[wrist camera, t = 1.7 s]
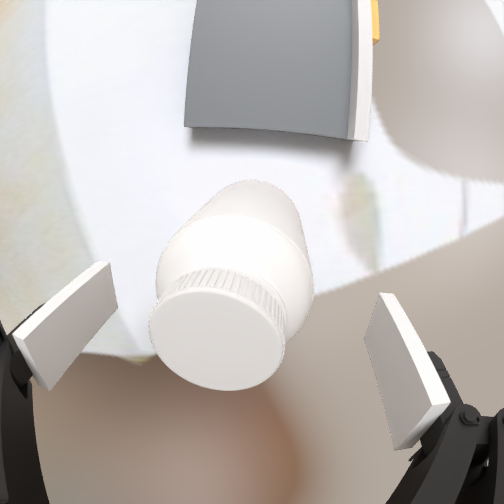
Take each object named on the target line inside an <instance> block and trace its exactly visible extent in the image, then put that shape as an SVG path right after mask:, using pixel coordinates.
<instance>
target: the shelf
mask: <svg viewBox="0 0 504 504" xmlns="http://www.w3.org/2000/svg"><path fill="white" fill-rule="evenodd" d="M377 41H379V16H378V2H377V0H197V4H196V10H195V17H194V24H193V31H192V39H191V48H190V57H189V66H188V77H187V88H186V101H185V116H184V127H190V128H238V129H256V130H270V131H282V132H292V133H301V134H309V135H317V136H324V137H331V138H338V139H344V140H350V141H366V142H368V137H369V126H370V113H371V96H372V65H373V64H372V63H373V62H372V61H373V57H372V56H373V54H372V53H373V52H372V51H373V45H374V44H375V43H377Z"/></svg>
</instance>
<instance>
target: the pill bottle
mask: <svg viewBox="0 0 504 504" xmlns="http://www.w3.org/2000/svg"><path fill="white" fill-rule="evenodd" d="M156 293H157V298H158V301H157V303H156V304H155V306H154V308H153V310H152V312H151V315H150V320H149V334H150V338H151V342H152V345H153V347H154V349H155V351H156V353H157V354H158V356H159V357H160V358H161V360H162V361H163V362H164V363H165V364H166V365H167V366H168V367H169V368H170V369H171V370H172V371H173V372H175V373H176V374H177V375H179V376H180V377H182V378H184V379H185V380H187V381H189V382H191V383H194V384H196V385H199V386H202V387H206V388H209V389H214V390H223V391H234V390H242V389H247V388H251V387H254V386H256V385H258V384H260V383H262V382H264V381H265V380H267V379H268V378H269V377H270V376H272V375H273V374H274V373H275V371H276V370H277V369H278V367H279V366H280V365H281V362H282V361H283V357H284V352H285V344H286V343H287V342H289V341H290V340H291V339H292V338H293V337H294V336H295V335H296V334H297V333H298V332H299V330H300V329H301V327H302V326H303V324H304V323H305V321H306V319H307V317H308V314H309V312H310V309H311V306H312V302H313V295H314V283H313V275H312V270H311V265H310V260H309V256H308V251H307V247H306V242H305V238H304V233H303V229H302V225H301V221H300V217H299V213H298V211H297V208H296V206H295V205H294V203H293V202H292V200H291V199H290V198H289V197H288V195H287V194H286V193H284V192H283V191H282V190H281V189H279V188H278V187H276V186H274V185H272V184H270V183H267V182H264V181H259V180H244V181H239V182H236V183H233V184H230V185H228V186H227V187H225V188H223V189H222V190H221V191H219V192H218V193H217V194H216V195H215V196H214V197H213V198H212V199H211V200H210V201H208V202H207V203H206V204H205V205H204V206H203V207H202V208H201V209H200V210H199V211H198V212H197V213H196V214H195V215H194V216H193V217H192V218H191V219H190V220H189V221H188V222H187V223H186V224H185V225H184V226H183V227H182V228H181V229H179V230H178V231H177V233H176V234H175V235H174V236H173V237H172V238H171V239H170V241H169V242H168V243H167V245H166V246H165V248H164V250H163V252H162V254H161V256H160V259H159V263H158V267H157V272H156Z"/></svg>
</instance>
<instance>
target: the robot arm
mask: <svg viewBox="0 0 504 504" xmlns="http://www.w3.org/2000/svg"><path fill="white" fill-rule="evenodd" d="M117 308H118V305H117V300H116V295H115V290H114V285H113V279H112V273H111V266H110V262H104V261H97V262H96V263H95V264H93V265H92V266H91V267H89V268H88V269H87V270H86V271H84V272H83V273H82V274H81V275H79V276H78V277H77V278H75V279H74V280H73V281H72V282H71V283H69V284H68V285H67V286H66V287H64V288H63V289H62V290H61V291H60V292H58V293H57V294H56V295H55V296H54V297H52V298H51V299H50V300H49V301H48V302H47V303H45V304H43V305H41V306H39V307H38V308H37V309H36V310H34V311H33V312H32V314H30V315H29V316H28V317H27V319H24V320H23V321H22V322H21V323H20V324H19V325H18V326H17V327H16V328H15V329H13V330H12V331H11V332H10V333H9V334H8V335H6V333H5V331H4V328H3V326H2V324H1V321H0V504H49V500H48V496H47V493H46V489H45V485H44V481H43V476H42V472H41V468H40V462H39V456H38V450H37V443H36V435H35V427H34V416H33V401H32V384H31V381H30V377H32V375H33V377H34V378H35V380H36V381H37V383H38V385H40V386H41V387H43V388H45V389H47V390H49V391H51V389H52V388H53V387H54V385H55V384H56V383H57V382H58V380H59V379H60V378H61V376H62V375H63V374H64V372H65V371H66V370H67V369H68V367H69V366H70V365H71V363H72V362H73V361H74V360H75V358H76V357H77V356H78V355H79V353H80V352H81V351H82V350H83V349H84V347H85V346H86V345H87V344H88V342H89V341H90V340H91V339H92V338H93V336H94V335H95V334H96V333H97V332H98V330H99V329H100V328H101V327H102V326H103V325H104V323H105V322H106V321H107V320H108V319H109V318H110V316H111V315H112V314H113V313H114V312H115V311H116V309H117ZM364 341H365V344H366V347H367V350H368V353H369V356H370V360H371V363H372V366H373V369H374V373H375V376H376V380H377V383H378V387H379V391H380V394H381V398H382V402H383V405H384V409H385V413H386V417H387V420H388V425H389V429H390V433H391V438H392V442H393V446H394V450H401V449H407V448H412V447H413V446H414V445H415V444H416V443H417V442H418V441H419V440H420V441H421V445H422V447H421V448H420V449H419V450H418V451H417V452H416V453H415V454H414V455H413V456H412V457H411V458H410V459H409V461H412V460H413V461H412V463H411V465H410V466H409V468H408V470H407V471H406V473H405V475H404V477H403V478H402V480H401V481H400V483H399V485H398V486H397V488H396V489H395V491H394V492H393V494H392V495H391V497H390V498H389V500H388V501H387V502H386V504H504V408H503V409H501V410H500V411H499V412H498V413H497V414H496V415H495V416H494V417H487V416H481V415H480V413H479V412H478V410H477V409H476V408H474V407H473V406H471V405H468V404H463V402H462V400H461V398H460V396H459V394H458V391H457V389H456V387H455V385H454V383H453V381H452V379H451V378H450V375H449V373H448V372H447V370H446V368H445V366H444V364H443V362H442V360H441V359H440V358H439V357H438V356H437V355H436V354H435V353H434V352H432V351H431V352H426V350H425V348H424V346H423V344H422V342H421V341H420V339H419V337H418V335H417V333H416V331H415V330H414V328H413V326H412V324H411V322H410V321H409V319H408V317H407V315H406V314H405V312H404V310H403V309H402V307H401V305H400V304H399V302H398V300H397V299H396V297H395V295H394V294H391V293H379V296H378V299H377V302H376V305H375V309H374V311H373V314H372V317H371V320H370V323H369V326H368V329H367V332H366V334H365V337H364ZM488 459H489V463H488V466H487V460H488Z"/></svg>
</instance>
